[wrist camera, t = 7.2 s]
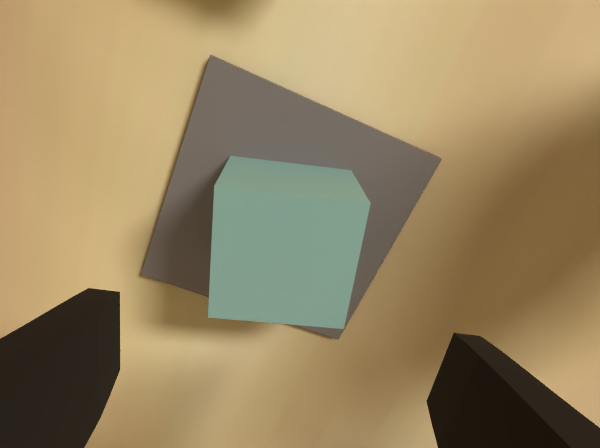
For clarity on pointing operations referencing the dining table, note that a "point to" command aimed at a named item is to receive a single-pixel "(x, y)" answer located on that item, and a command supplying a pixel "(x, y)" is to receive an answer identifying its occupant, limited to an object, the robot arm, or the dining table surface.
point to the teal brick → (285, 242)
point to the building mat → (283, 148)
